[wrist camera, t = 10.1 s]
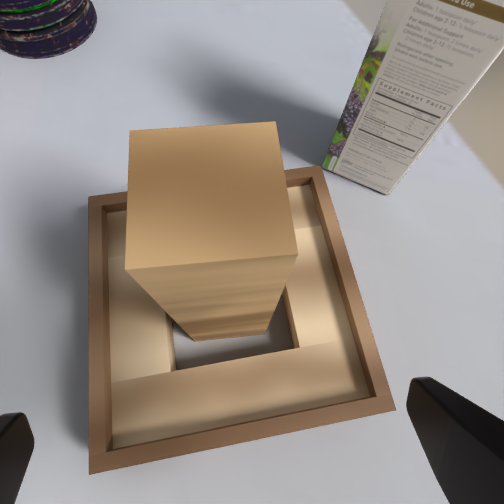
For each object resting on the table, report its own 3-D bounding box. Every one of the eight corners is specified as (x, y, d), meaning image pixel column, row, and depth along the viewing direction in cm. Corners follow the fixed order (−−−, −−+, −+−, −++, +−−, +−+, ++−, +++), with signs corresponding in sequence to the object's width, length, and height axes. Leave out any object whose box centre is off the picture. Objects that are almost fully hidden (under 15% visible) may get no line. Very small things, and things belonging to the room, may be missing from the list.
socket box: (375, 407, 20) (396, 410, 18) (111, 462, 19) (88, 474, 16) (312, 189, 26) (320, 165, 23) (105, 218, 25) (88, 196, 22)
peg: (264, 334, 22) (298, 253, 9) (194, 341, 22) (124, 269, 9) (256, 268, 24) (275, 121, 11) (192, 274, 23) (129, 130, 10)
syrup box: (346, 120, 29) (437, -115, 15) (412, 146, 28) (570, -77, 15) (320, 169, 27) (399, -51, 13) (390, 199, 26) (550, -4, 13)
